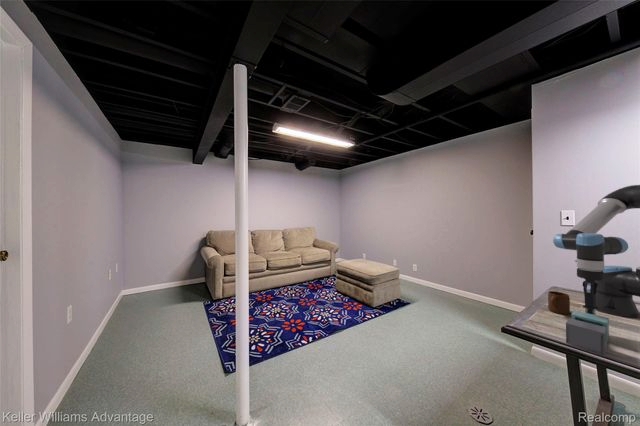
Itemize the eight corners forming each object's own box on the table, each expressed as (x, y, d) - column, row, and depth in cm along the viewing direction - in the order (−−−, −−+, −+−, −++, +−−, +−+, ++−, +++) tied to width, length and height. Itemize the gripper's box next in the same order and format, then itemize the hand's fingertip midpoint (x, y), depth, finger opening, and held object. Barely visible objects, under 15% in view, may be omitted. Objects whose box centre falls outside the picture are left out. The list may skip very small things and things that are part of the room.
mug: (563, 318, 107) (563, 299, 107) (542, 312, 113) (541, 294, 113) (572, 313, 112) (571, 294, 112) (551, 307, 119) (551, 290, 119)
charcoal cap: (569, 336, 91) (568, 318, 91) (606, 348, 83) (606, 327, 83) (566, 342, 87) (565, 322, 87) (605, 355, 79) (604, 333, 79)
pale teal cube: (574, 327, 98) (573, 310, 98) (609, 336, 91) (608, 318, 91) (571, 332, 94) (571, 314, 94) (607, 342, 87) (607, 323, 87)
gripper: (578, 265, 102) (579, 315, 102) (574, 270, 95) (575, 324, 95) (605, 268, 96) (605, 322, 96) (602, 273, 89) (603, 331, 89)
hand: (590, 323), depth 96 cm, fingers closed
